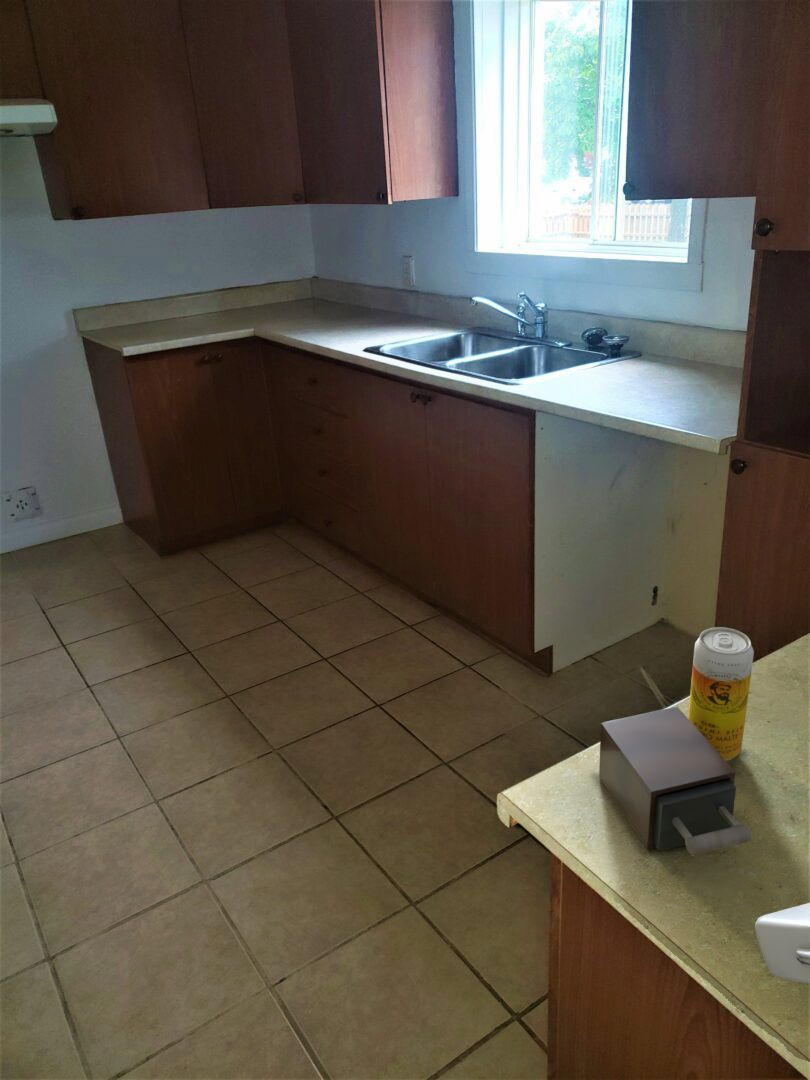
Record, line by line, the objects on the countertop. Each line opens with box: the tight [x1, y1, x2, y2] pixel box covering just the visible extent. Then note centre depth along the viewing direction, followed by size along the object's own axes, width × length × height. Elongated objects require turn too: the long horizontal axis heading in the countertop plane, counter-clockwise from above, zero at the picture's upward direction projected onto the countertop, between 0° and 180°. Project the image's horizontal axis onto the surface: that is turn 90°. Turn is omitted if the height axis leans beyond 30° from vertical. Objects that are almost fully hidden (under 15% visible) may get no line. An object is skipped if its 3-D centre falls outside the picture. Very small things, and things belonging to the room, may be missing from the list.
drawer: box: [653, 780, 752, 856], centre depth 84 cm, size 15×8×6 cm, turn 13°
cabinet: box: [598, 706, 737, 850], centre depth 87 cm, size 11×9×8 cm
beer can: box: [687, 626, 755, 762], centre depth 92 cm, size 6×6×15 cm
